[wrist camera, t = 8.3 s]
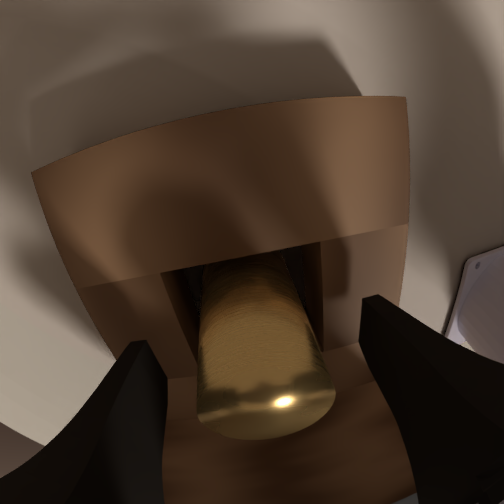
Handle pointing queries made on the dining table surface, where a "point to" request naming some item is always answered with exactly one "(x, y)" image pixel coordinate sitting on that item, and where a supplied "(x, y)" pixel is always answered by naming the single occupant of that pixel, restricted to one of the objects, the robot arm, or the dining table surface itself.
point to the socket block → (239, 245)
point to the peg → (257, 352)
